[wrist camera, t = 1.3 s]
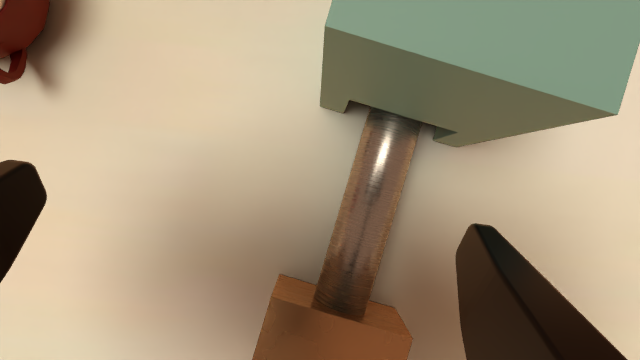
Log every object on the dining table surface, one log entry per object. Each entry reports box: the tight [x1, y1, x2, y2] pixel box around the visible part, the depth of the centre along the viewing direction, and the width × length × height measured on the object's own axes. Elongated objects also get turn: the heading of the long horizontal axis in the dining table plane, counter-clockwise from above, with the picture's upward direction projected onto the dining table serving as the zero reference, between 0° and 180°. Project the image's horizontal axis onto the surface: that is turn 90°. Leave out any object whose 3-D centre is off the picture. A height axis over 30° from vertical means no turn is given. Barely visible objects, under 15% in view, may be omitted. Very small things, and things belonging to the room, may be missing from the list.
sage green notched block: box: [320, 0, 640, 147], centre depth 14 cm, size 8×7×10 cm
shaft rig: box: [252, 106, 422, 360], centre depth 17 cm, size 34×6×4 cm, turn 163°
